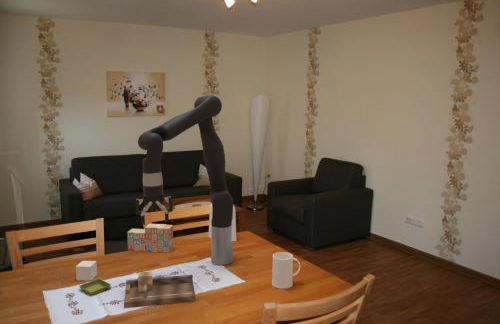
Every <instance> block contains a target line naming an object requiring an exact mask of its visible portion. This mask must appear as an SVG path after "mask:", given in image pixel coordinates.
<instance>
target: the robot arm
mask: <svg viewBox="0 0 500 324" xmlns="http://www.w3.org/2000/svg"><path fill="white" fill-rule="evenodd" d="M222 107H223V103H222V101H221V99H220V98H219V97H218V96H215V95H204V96H199V97H197V98H196V100H195V101H194V105H193V109H190V110H188V111H187V112H184V113H181V114H179V115H176V116H174V117H172V118H170V119H169V120H167V121H166V122H164V123H162V124H160V125H159V126H156V127H154V128H151V129H148V130H146V131H144V132H142V134H140V135H139V137H138V139H137V144H138V147H139V148H140V149H141V150H143V151H146V155H145V157H144V158H143V160H142V186H143V187H142V190H143V198H141V199H140V198H136V199H135V215H136V216H140V222H141V224H143V226H146V219H145V214H146V213H147V212H148V210H155V209H156V210H158V209H161V210H162V211H163V213H164V224H166V223H168V222H169V214H170V213H171V212H174V209H173V200H172V199H173V198H172V196H171V195H168V196H166V197H165V196H164V183H163V182H164V181H163V174H162V162H161V161H162V157H163V151H164V142H168V141H171V140H173V139H174V138H176V137H178V136H179V135H181V134H183V133H184V132H186V131H187V130H189V129H190V128H192V127H194V126H195V125H198V129H199V135H200V141H201V146H202V153H203V160H204V163H205V167H206V168H205V169H206V171H207V172H206V173H207V176H208V180H209V181H208V182H209V190H210V192H209V193H210V194H209V195H210V199H209V200H210V204H211V203H212V220H211V239H210V240H211V243H210V244H211V245H210V246H211V247H210V248H211V253H210V256H211V261H210V262H211V263H212V264H214V265H216V266H219V265H220V266H226V265H228V264H233V246H234V245H233V244H234V242H232V219H233V205H234V200H233V197H232V194H231V193H230V192H229V189H228V186H227V182H226V174H225V173H226V155H225V154H226V153H225V148H224V144H223V142H222V140H221V139H220V136H219V135H218V133H217V132H216V130H215V127H214V123H213V118H214V117H217V116H218V115H219V114H220V113H221V112H222ZM164 202H166V203H168V208H167V207H166V206H165V205H164ZM142 203H143V205H144V207H143V209H142V210H140V205H141V204H142Z"/></svg>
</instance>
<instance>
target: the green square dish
mask: <svg viewBox="0 0 500 324" xmlns="http://www.w3.org/2000/svg"><path fill="white" fill-rule="evenodd" d="M111 286H112V284H111V283H109V282H107V281H105V280H104V279H101V278H97V279H93V280H91V281H88V282H86V283H83V284H80V285H79V286H78V288H80V289H81V290H82V291H84V292H86V293H88V295H96V294H98V293H100V292H103V291H106V290H108V289H109V288H110V287H111Z"/></svg>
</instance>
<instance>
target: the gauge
mask: <svg viewBox="0 0 500 324" xmlns="http://www.w3.org/2000/svg"><path fill="white" fill-rule="evenodd" d="M152 278H153V271H140V272H138V275H137V279H138V289H139V292H143V293H144V297H146V292H147V291H152V290H153V280H152Z"/></svg>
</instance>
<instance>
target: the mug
mask: <svg viewBox="0 0 500 324" xmlns="http://www.w3.org/2000/svg"><path fill="white" fill-rule="evenodd" d="M294 261H295V262H297V263H298V269H297V271H296V272H295V273H294V272H293V268H294V267H293V266H294V265H293V264H294ZM271 266H272V268H271V270H272V271H271V272H272V273H271V274H272V275H271V286H272V287H274V288H276V289H281V290H282V289H283V290H285V289H290V288H291V287H293V278H294V277H295V276H297V275H298V274H299V272H300V270H301V263H300V261H299V259H297V258H295V257H294V256H293V254H292V253H290V252H285V251H278V252H274V253H272V265H271Z"/></svg>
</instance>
